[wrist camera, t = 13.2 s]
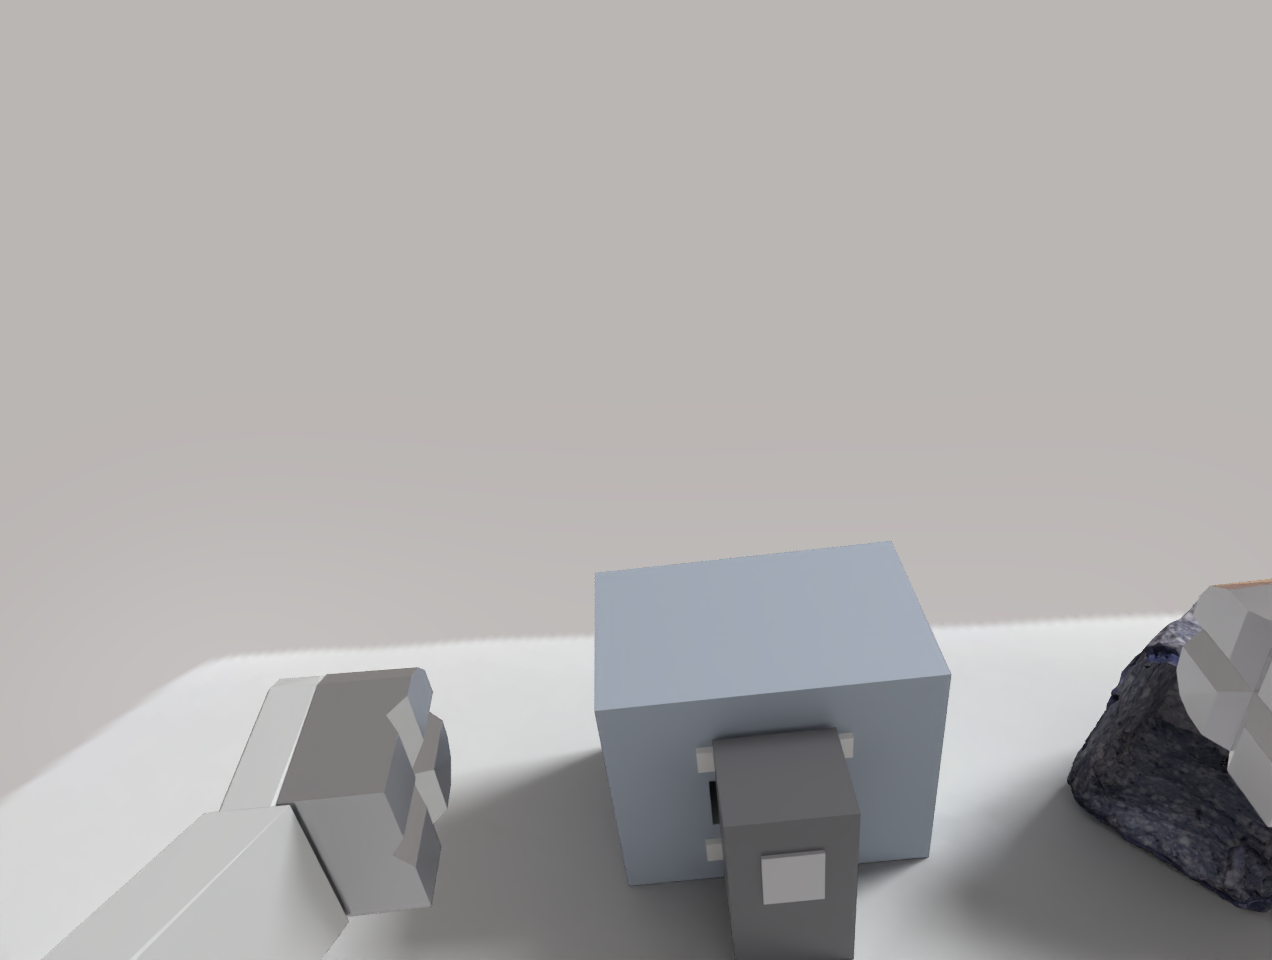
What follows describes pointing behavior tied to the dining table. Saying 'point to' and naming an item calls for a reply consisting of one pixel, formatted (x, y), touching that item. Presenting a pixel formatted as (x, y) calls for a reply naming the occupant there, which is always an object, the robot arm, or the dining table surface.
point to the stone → (1172, 780)
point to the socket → (764, 693)
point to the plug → (788, 844)
